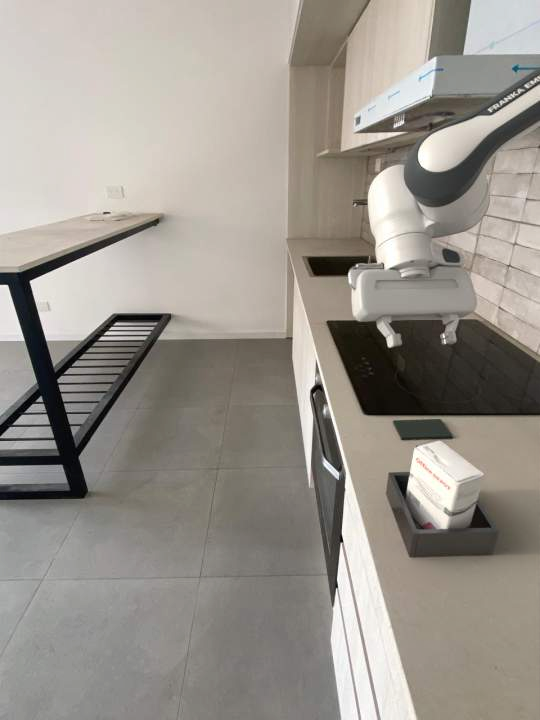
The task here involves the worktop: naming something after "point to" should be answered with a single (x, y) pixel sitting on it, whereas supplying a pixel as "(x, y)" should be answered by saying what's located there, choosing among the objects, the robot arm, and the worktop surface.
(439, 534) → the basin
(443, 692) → the worktop surface
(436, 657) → the worktop surface
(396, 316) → the robot arm
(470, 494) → the ink box
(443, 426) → the mat
